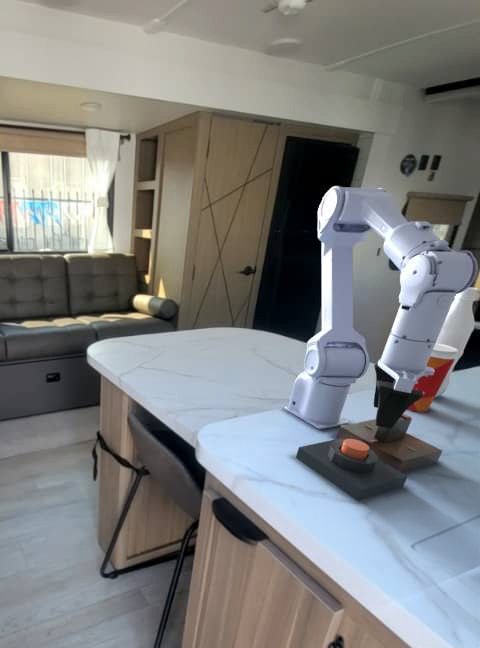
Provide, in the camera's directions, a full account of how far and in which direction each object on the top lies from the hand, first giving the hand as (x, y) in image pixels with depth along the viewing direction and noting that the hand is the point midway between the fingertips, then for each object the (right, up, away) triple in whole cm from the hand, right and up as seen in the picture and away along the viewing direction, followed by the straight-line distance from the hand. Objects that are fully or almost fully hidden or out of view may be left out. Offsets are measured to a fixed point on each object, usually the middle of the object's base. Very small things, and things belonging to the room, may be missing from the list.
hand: (381, 416), depth 66 cm
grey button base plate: (-5, -9, +1) cm, 11 cm away
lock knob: (+6, -4, +6) cm, 10 cm away
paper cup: (+24, +1, +25) cm, 35 cm away
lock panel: (+6, -6, +8) cm, 11 cm away
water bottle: (+32, +4, +31) cm, 45 cm away
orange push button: (-5, -6, -1) cm, 8 cm away
